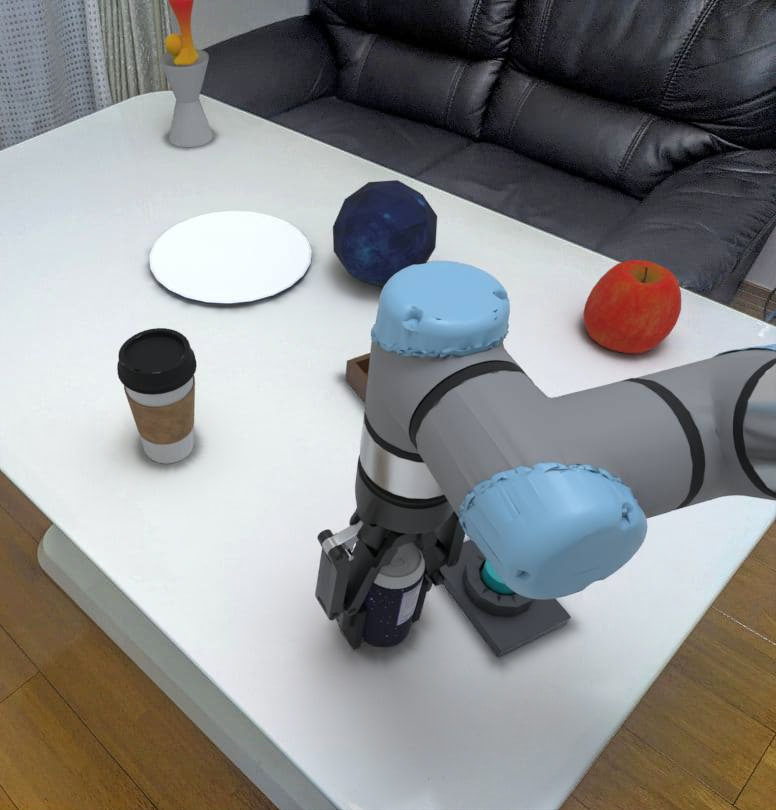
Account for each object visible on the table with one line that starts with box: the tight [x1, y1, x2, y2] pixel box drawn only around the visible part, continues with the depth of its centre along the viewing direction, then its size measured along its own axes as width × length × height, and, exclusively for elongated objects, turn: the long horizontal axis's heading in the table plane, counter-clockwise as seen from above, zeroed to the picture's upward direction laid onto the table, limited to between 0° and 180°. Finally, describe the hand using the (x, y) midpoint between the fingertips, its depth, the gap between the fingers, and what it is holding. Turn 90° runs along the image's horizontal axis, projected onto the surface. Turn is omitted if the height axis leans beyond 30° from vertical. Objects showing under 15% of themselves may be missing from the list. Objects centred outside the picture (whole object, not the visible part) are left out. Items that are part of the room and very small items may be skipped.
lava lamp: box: [158, 0, 214, 148], centre depth 131 cm, size 9×9×35 cm
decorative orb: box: [332, 179, 438, 286], centre depth 104 cm, size 14×15×15 cm
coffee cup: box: [116, 327, 197, 465], centre depth 81 cm, size 8×8×15 cm
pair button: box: [482, 559, 514, 594], centre depth 69 cm, size 4×4×2 cm
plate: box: [148, 210, 313, 305], centre depth 113 cm, size 25×25×1 cm
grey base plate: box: [440, 539, 572, 658], centre depth 70 cm, size 11×8×3 cm
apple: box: [582, 259, 682, 354], centre depth 93 cm, size 11×11×11 cm
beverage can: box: [361, 542, 425, 649], centre depth 65 cm, size 6×6×12 cm
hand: (379, 622), depth 69 cm, fingers closed on beverage can, 6 cm apart
